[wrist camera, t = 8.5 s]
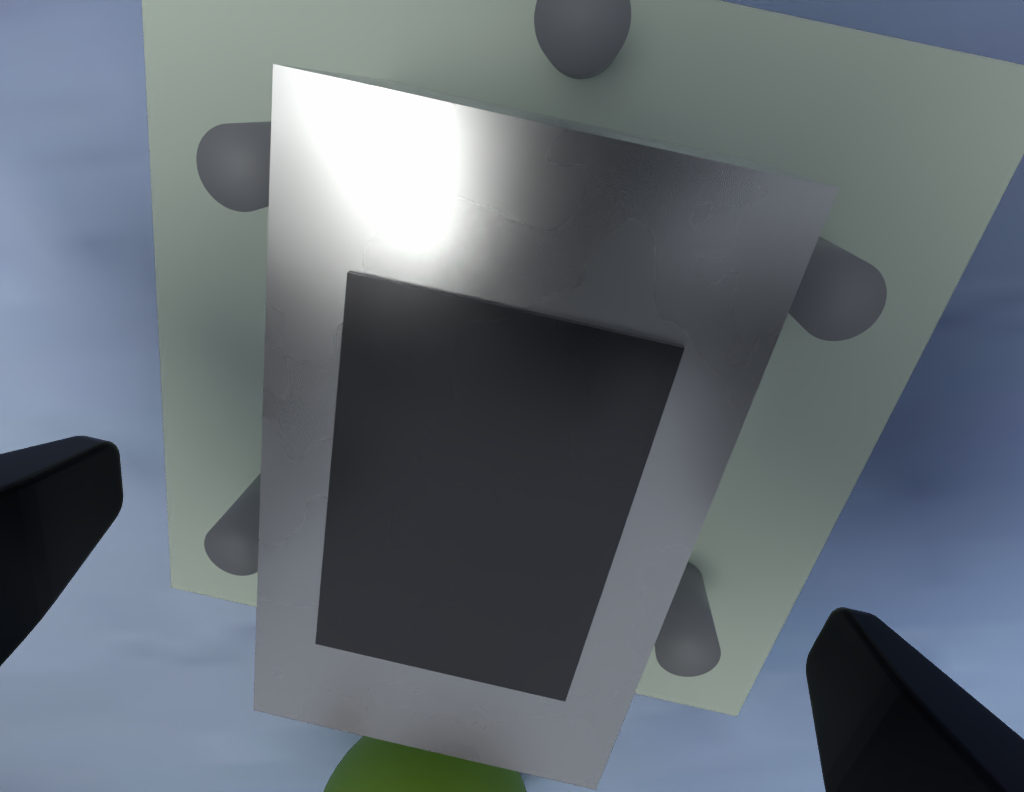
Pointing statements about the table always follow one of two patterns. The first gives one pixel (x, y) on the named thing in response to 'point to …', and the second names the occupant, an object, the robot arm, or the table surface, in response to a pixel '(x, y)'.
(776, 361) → the peg board
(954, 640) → the table surface
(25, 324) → the table surface
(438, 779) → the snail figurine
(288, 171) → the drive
